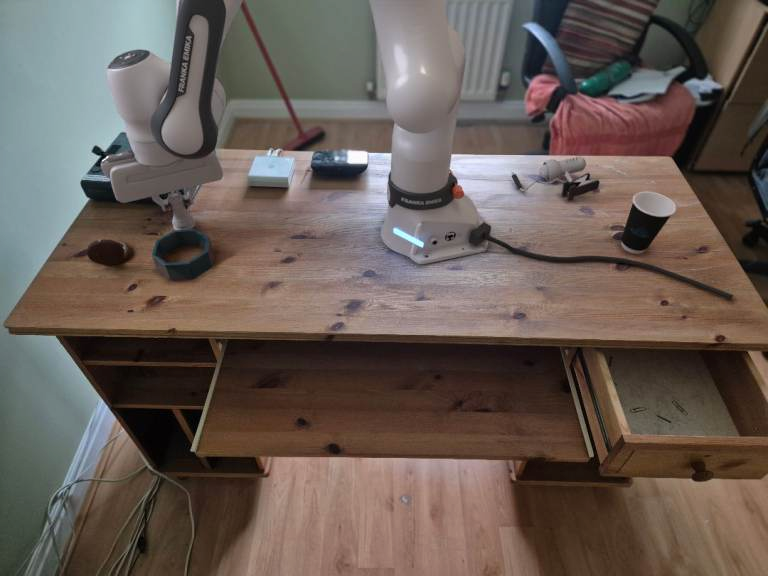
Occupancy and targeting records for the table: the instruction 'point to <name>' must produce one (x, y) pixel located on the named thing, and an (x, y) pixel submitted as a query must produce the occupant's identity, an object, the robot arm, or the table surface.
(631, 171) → the table surface
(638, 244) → the dixie cup
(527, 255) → the robot arm
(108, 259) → the dark brown rounded lump
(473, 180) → the table surface
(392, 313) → the table surface
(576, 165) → the clip-on lamp
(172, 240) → the octagonal bangle
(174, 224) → the rook chess piece
